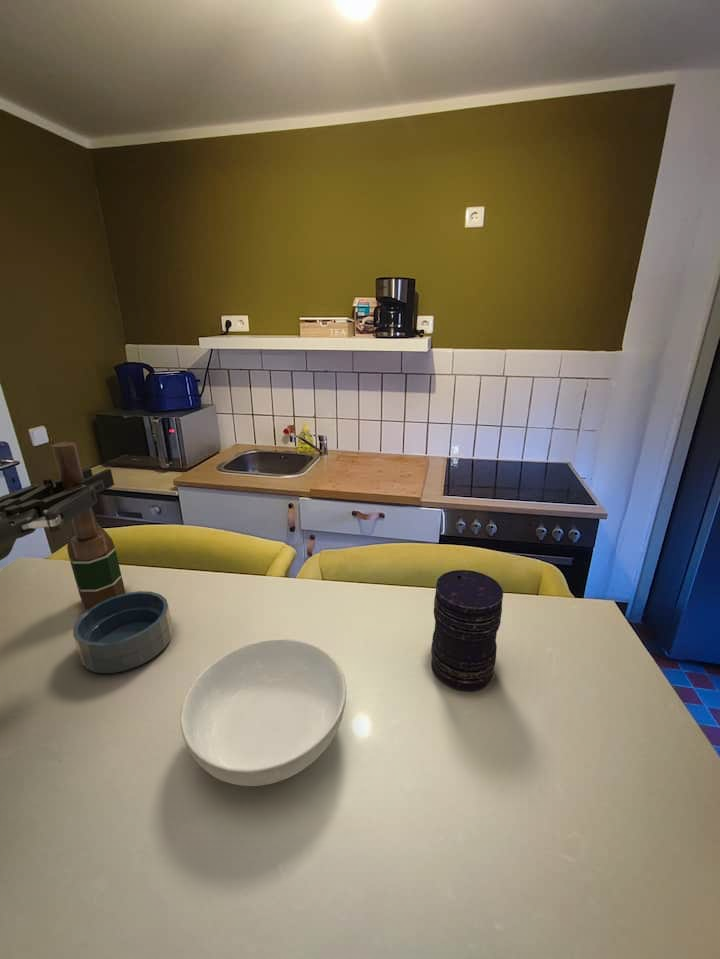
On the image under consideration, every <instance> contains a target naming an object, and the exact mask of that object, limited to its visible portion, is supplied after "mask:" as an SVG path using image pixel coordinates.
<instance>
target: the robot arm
mask: <svg viewBox="0 0 720 959" xmlns="http://www.w3.org/2000/svg"><path fill="white" fill-rule="evenodd" d="M81 470H82V469H81ZM82 474H83V478H84V480H82V481H80V482H77V483H76V484H77V486H76V487H73V488H70V489H68V490H65V491H64V489H63V485H62V482H61V479H59V480H56V481H54V482H53V478H44V479H42V482H43V485H41V486H40V485H39V484H38V483H37V484H31V485H27V486H25V487H23V488H21V489H17V490H15V491H12V492H9V493H7V494H4V495H1V496H0V561H2V560H4V559H5V558H7V557H8V556H9V555H10V554H11V552H12V550H13V547H14V545H15V544H16V541H17V540H18V539H21V538H23V537H27V536H28V535H31V534H32V533H35V531H36V530H37V529H42V528H47V529H48V531H49V533H57V532H60V531H61V530H62V529H63V527H64V526H65V524H67V523H69V522H70V521H72V519H73V518H75V517H76V516H78V515H79V514H81V513H83V512H84V511H86V510H87V509H89V508H90V507H92V508H93V506H95V505H97V504H98V498H97V495H98V494H99V493H102V492H104V491H105V490H108V489H109V488H111V487H113V486H115V482H114V478H113V472H112V469H111V468H105V469H104V470H101V471H99V472H97V473H95V474H93V470H92V468H84V469H83V470H82Z"/></svg>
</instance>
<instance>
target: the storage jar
mask: <svg viewBox="0 0 720 959" xmlns="http://www.w3.org/2000/svg"><path fill="white" fill-rule="evenodd" d="M503 599H504V590H503V587H502V585H501V584H500V583H499V582H498V581H497V580H496V579H494V578H493V577H491V576H489V575H488V574H486V573H482V572H480V571H476V570H469V569H455V570H451V571H447V572H445V573H443V574H441V575H440V576H439V577H438V578H437V579H436V582H435V594H434V600H433V617H434V631H433V633H432V641H431V646H430V647H431V648H430V651H431V652H430V653H431V654H430V655H431V659H430V660H431V661H430V667H431V671H432V673H433V675H434V676H435V678H436V679H437V680H438V681H439V682H440V683H442V684H443V685H444V686H446V687H448V688H449V689H452V690H454V691H456V692H457V691H458V692H463V693H473V692H478V691H481V690H484V689H485V688H487V687H488V686H489V685H490V684H491V682H492V681H493V677H494V670H495V666H496V660H497V647H498V645H497V636H498V635H497V634H498V631H499V629H500V625H501V618H502V614H503Z"/></svg>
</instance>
